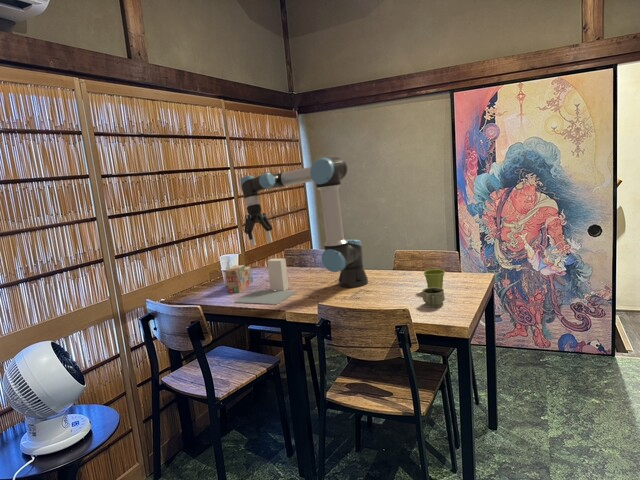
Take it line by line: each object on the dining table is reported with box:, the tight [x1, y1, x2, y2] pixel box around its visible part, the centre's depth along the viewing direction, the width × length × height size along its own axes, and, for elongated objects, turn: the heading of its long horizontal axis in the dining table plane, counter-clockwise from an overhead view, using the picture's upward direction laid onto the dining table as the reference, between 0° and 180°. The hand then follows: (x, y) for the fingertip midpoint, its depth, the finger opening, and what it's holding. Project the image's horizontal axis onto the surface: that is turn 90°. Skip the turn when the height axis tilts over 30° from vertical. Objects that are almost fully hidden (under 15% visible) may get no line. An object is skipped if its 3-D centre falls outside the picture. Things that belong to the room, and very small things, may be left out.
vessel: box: [422, 287, 446, 309], centre depth 177 cm, size 12×9×6 cm
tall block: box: [267, 258, 290, 291], centre depth 224 cm, size 8×5×16 cm, turn 65°
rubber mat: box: [233, 289, 298, 305], centre depth 213 cm, size 24×20×1 cm
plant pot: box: [423, 269, 446, 289], centre depth 196 cm, size 9×9×9 cm
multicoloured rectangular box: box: [225, 264, 254, 294], centre depth 237 cm, size 21×6×12 cm, turn 169°
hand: (262, 244), depth 228 cm, fingers open, 13 cm apart
